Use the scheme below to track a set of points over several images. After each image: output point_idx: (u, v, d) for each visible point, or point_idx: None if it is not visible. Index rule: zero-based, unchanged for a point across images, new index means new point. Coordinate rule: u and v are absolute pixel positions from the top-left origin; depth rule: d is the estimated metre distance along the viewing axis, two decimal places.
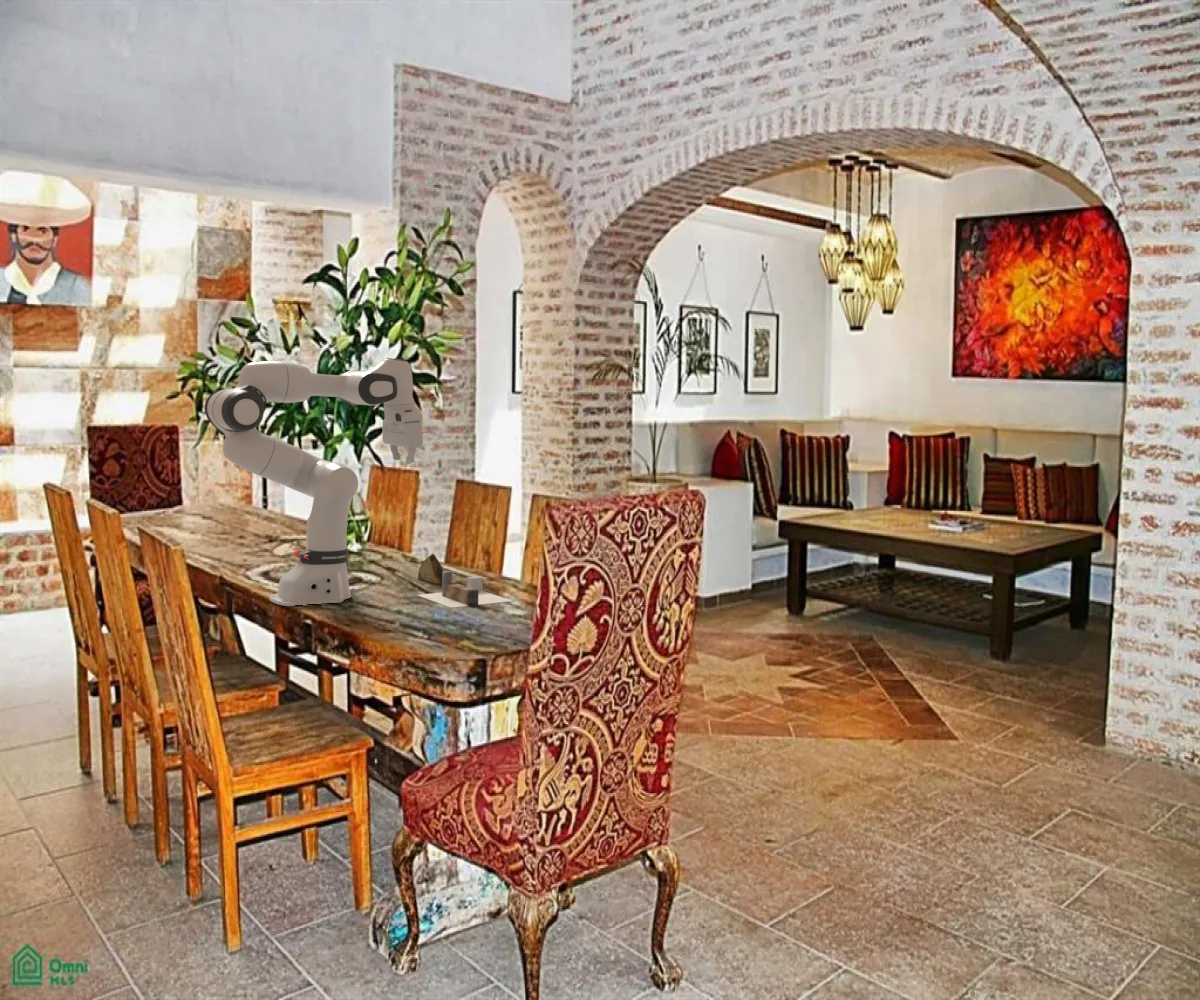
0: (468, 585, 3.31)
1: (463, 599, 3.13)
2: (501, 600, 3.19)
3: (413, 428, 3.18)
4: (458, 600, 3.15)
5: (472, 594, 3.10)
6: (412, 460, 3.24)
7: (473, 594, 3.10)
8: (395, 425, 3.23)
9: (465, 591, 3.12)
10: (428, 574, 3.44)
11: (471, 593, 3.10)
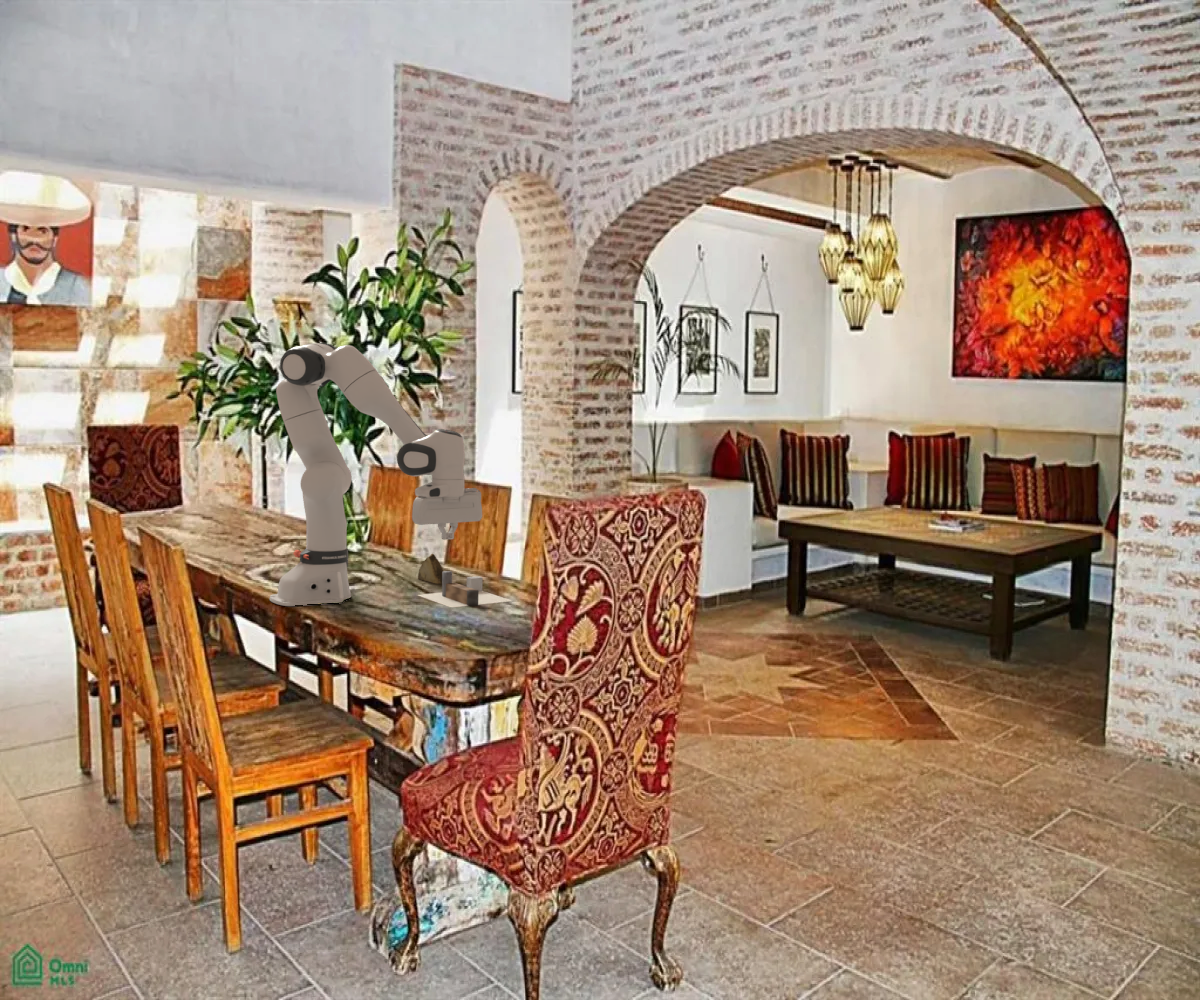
0: (468, 585, 3.31)
1: (463, 599, 3.13)
2: (501, 600, 3.19)
3: (415, 503, 3.02)
4: (458, 600, 3.15)
5: (472, 594, 3.10)
6: (443, 537, 3.07)
7: (473, 594, 3.10)
8: None
9: (465, 591, 3.12)
10: (428, 574, 3.44)
11: (471, 593, 3.10)
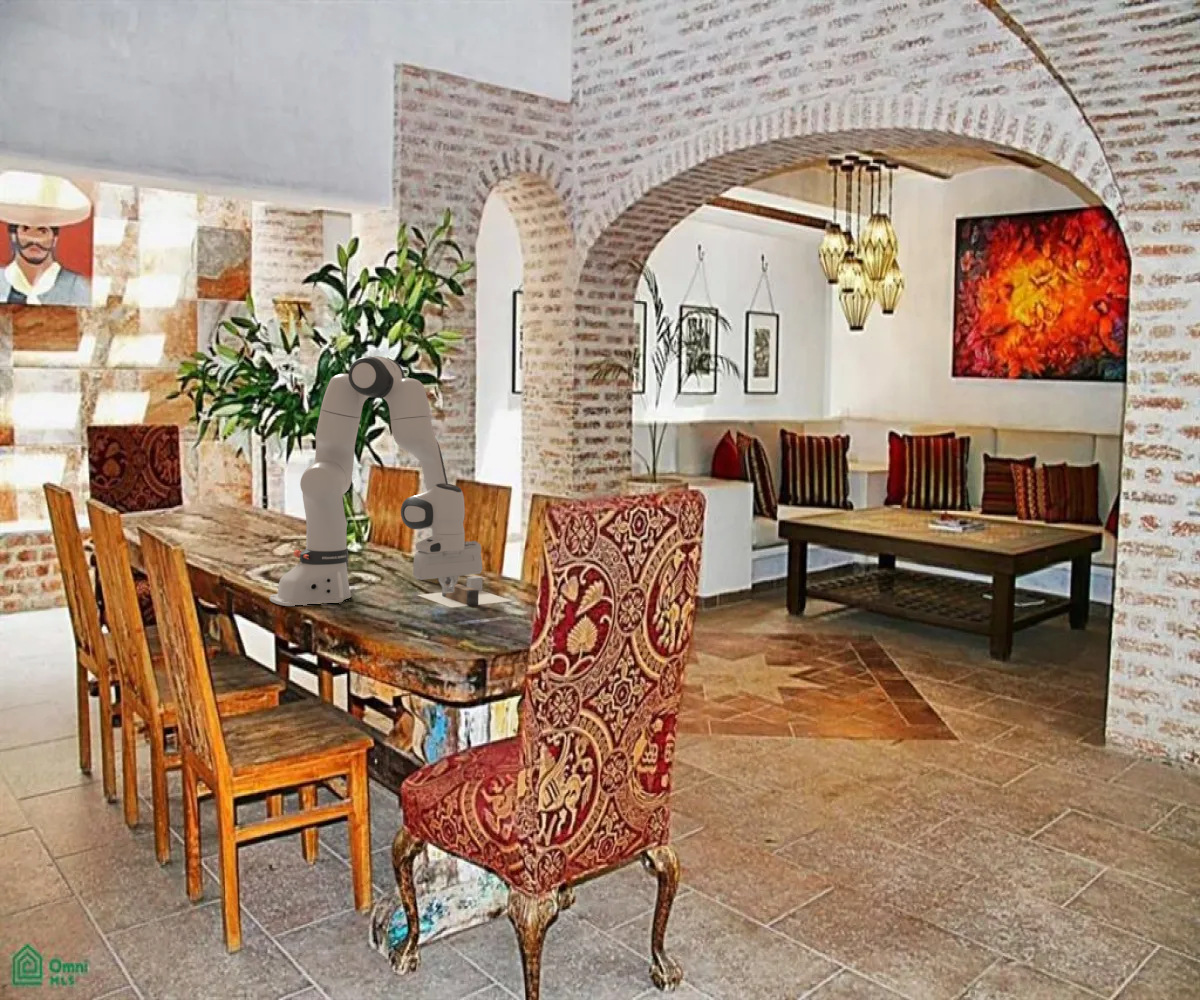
0: (468, 585, 3.31)
1: (463, 599, 3.13)
2: (501, 600, 3.19)
3: (416, 558, 3.03)
4: (458, 600, 3.15)
5: (472, 594, 3.10)
6: (444, 591, 3.09)
7: (473, 594, 3.10)
8: None
9: (465, 591, 3.12)
10: None
11: (471, 593, 3.10)
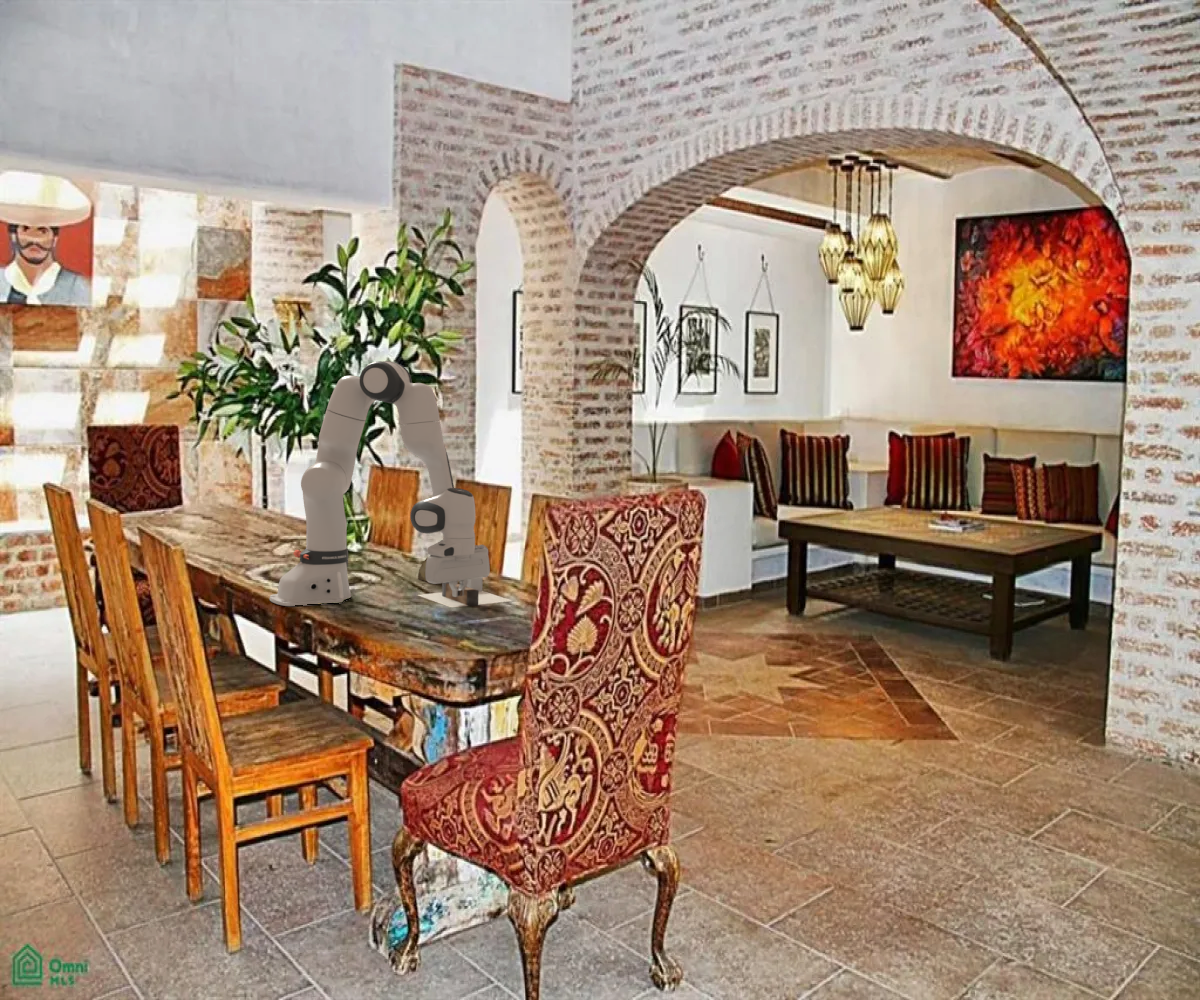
0: (468, 585, 3.31)
1: (463, 599, 3.13)
2: (501, 600, 3.19)
3: (429, 563, 3.05)
4: (458, 600, 3.15)
5: (472, 594, 3.10)
6: (454, 594, 3.11)
7: (473, 594, 3.10)
8: None
9: (465, 591, 3.12)
10: None
11: (471, 593, 3.10)
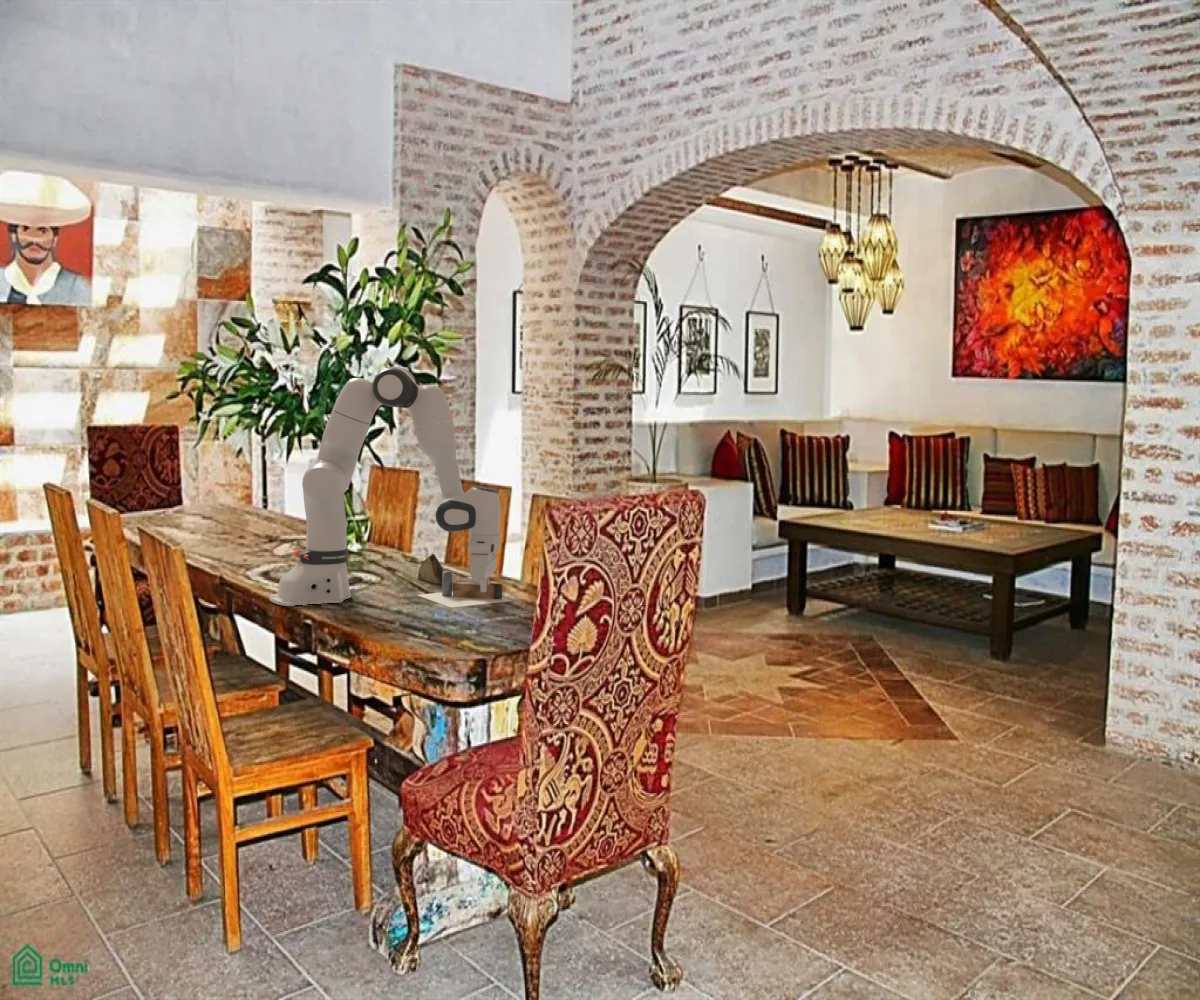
0: None
1: (487, 594, 3.21)
2: (501, 600, 3.19)
3: (475, 561, 3.10)
4: (477, 596, 3.21)
5: (500, 587, 3.21)
6: (484, 590, 3.19)
7: (501, 588, 3.22)
8: None
9: (491, 586, 3.21)
10: (428, 574, 3.45)
11: (500, 587, 3.21)
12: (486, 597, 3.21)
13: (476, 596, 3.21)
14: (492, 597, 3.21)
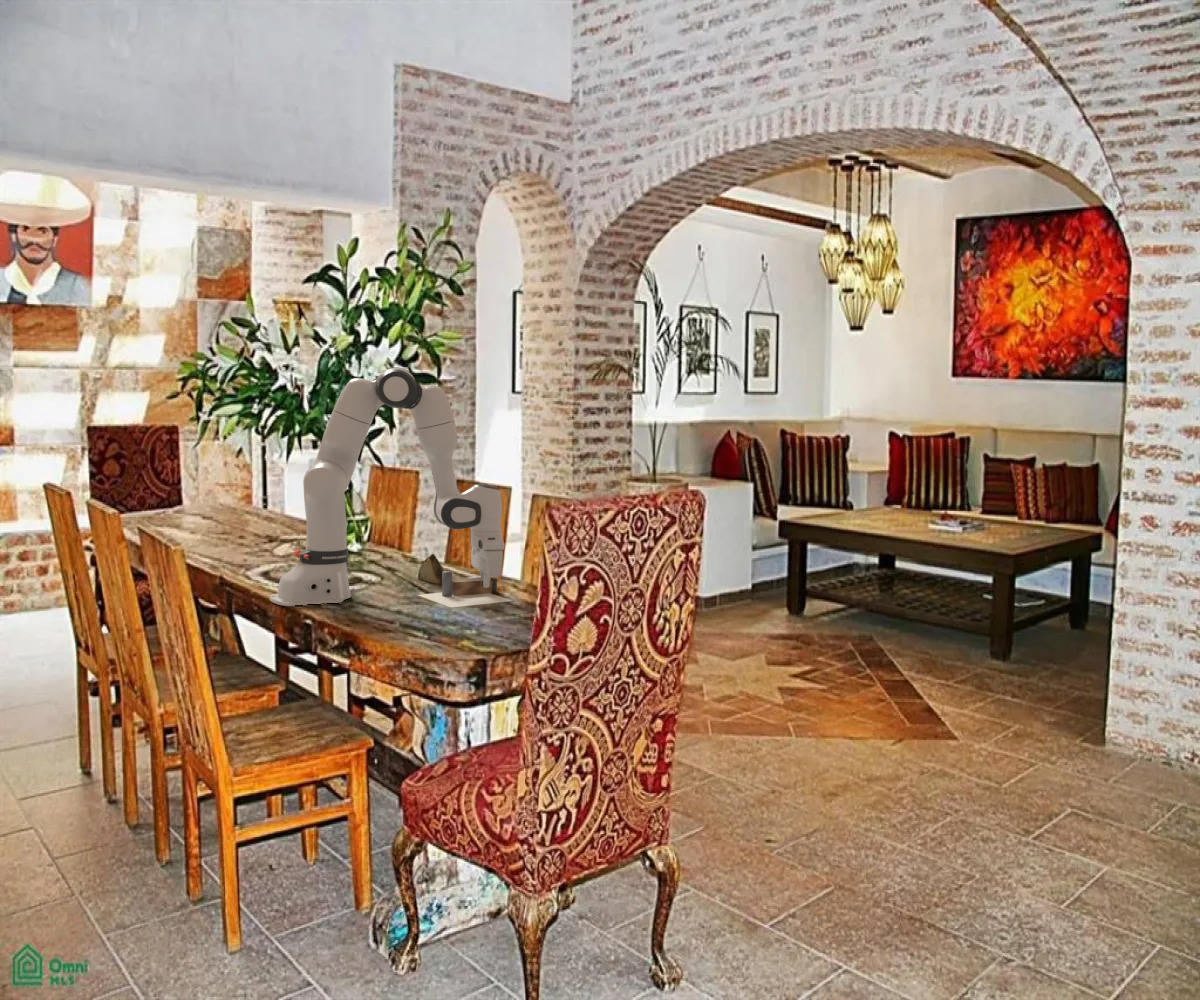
0: None
1: (486, 589, 3.29)
2: (501, 600, 3.19)
3: (492, 557, 3.17)
4: (478, 592, 3.28)
5: (496, 581, 3.31)
6: (487, 585, 3.26)
7: (496, 581, 3.32)
8: (479, 551, 3.23)
9: None
10: (428, 574, 3.45)
11: (496, 580, 3.31)
12: (485, 592, 3.29)
13: (476, 592, 3.27)
14: (490, 591, 3.30)
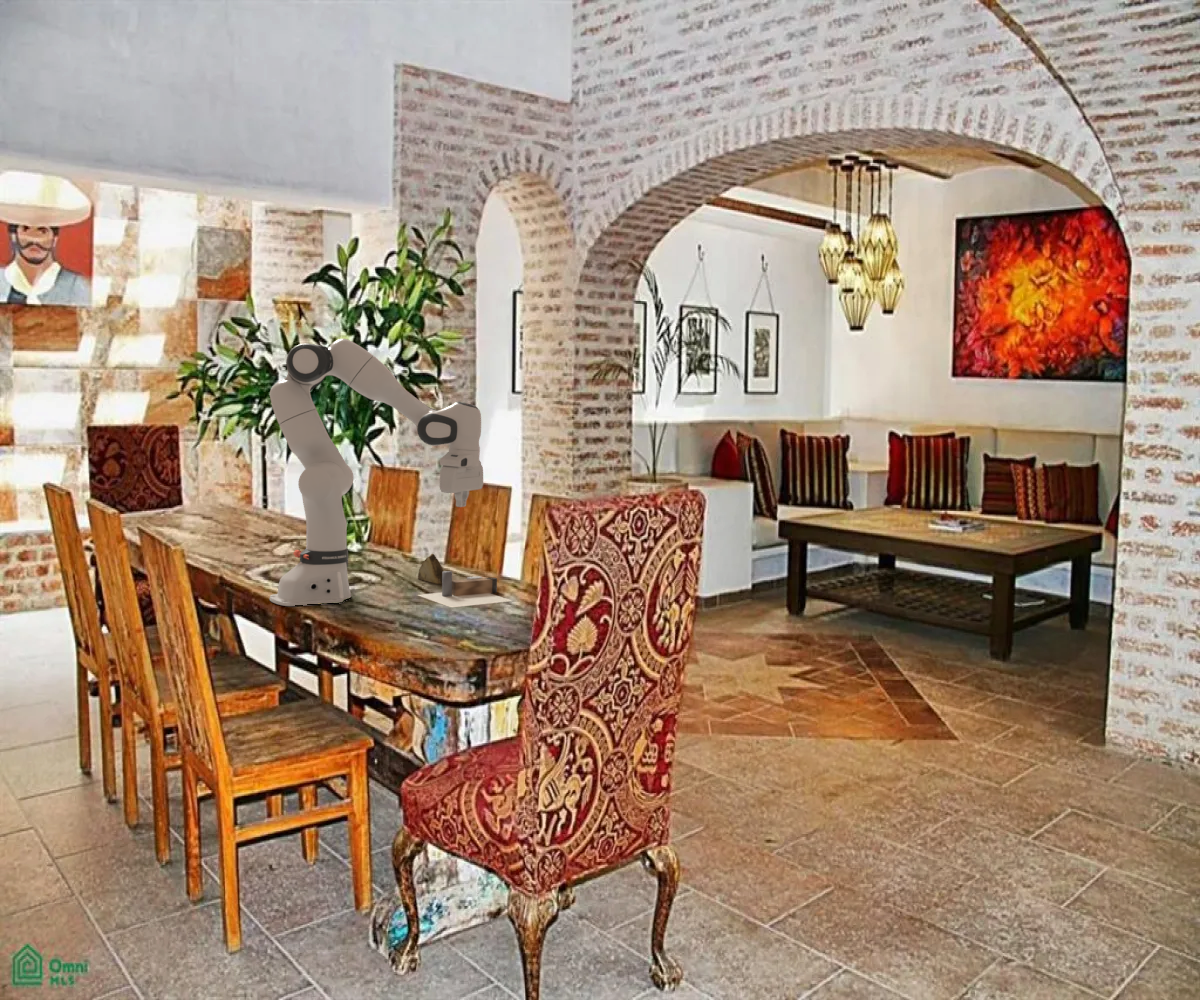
0: None
1: (486, 589, 3.29)
2: (501, 600, 3.19)
3: (444, 473, 3.15)
4: (478, 592, 3.28)
5: (496, 581, 3.31)
6: (459, 505, 3.23)
7: (496, 581, 3.32)
8: None
9: (489, 581, 3.29)
10: (428, 574, 3.45)
11: (496, 580, 3.31)
12: (485, 592, 3.29)
13: (476, 592, 3.27)
14: (490, 591, 3.30)
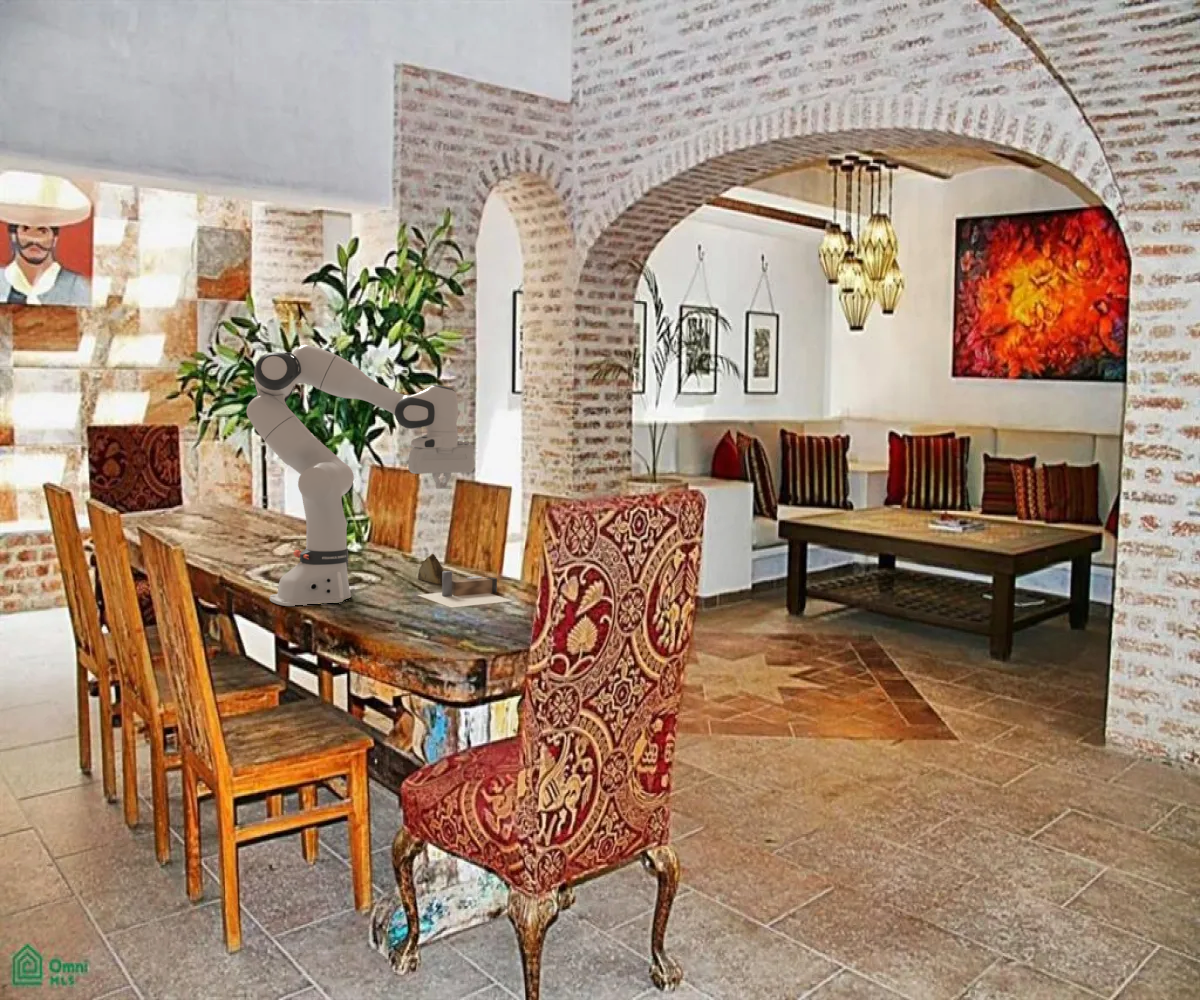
0: None
1: (486, 589, 3.29)
2: (501, 600, 3.19)
3: (411, 454, 3.22)
4: (478, 592, 3.28)
5: (496, 581, 3.31)
6: (437, 486, 3.27)
7: (496, 581, 3.32)
8: None
9: (489, 581, 3.29)
10: (428, 574, 3.45)
11: (496, 580, 3.31)
12: (485, 592, 3.29)
13: (476, 592, 3.27)
14: (490, 591, 3.30)
